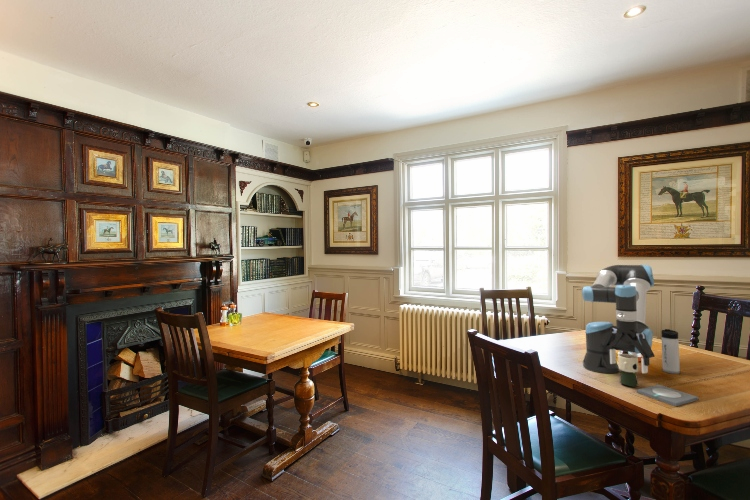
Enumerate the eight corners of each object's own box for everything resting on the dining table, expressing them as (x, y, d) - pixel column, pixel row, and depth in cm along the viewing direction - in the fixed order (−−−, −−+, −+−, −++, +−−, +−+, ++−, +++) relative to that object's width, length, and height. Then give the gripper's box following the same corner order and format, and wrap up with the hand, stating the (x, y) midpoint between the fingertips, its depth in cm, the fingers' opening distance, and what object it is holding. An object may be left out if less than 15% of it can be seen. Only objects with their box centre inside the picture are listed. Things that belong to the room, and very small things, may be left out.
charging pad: (636, 392, 143) (636, 389, 143) (658, 387, 148) (658, 383, 148) (675, 406, 130) (675, 402, 130) (698, 400, 135) (698, 396, 135)
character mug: (635, 391, 145) (634, 360, 145) (615, 386, 150) (614, 356, 150) (642, 384, 152) (641, 354, 152) (623, 379, 157) (622, 351, 157)
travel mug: (676, 370, 167) (675, 329, 167) (682, 374, 161) (680, 332, 161) (660, 368, 169) (659, 328, 169) (665, 373, 163) (663, 331, 163)
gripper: (594, 316, 162) (595, 360, 161) (651, 326, 138) (653, 378, 138) (605, 314, 164) (606, 358, 164) (663, 324, 141) (665, 375, 140)
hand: (628, 367), depth 151 cm, fingers open, 13 cm apart
